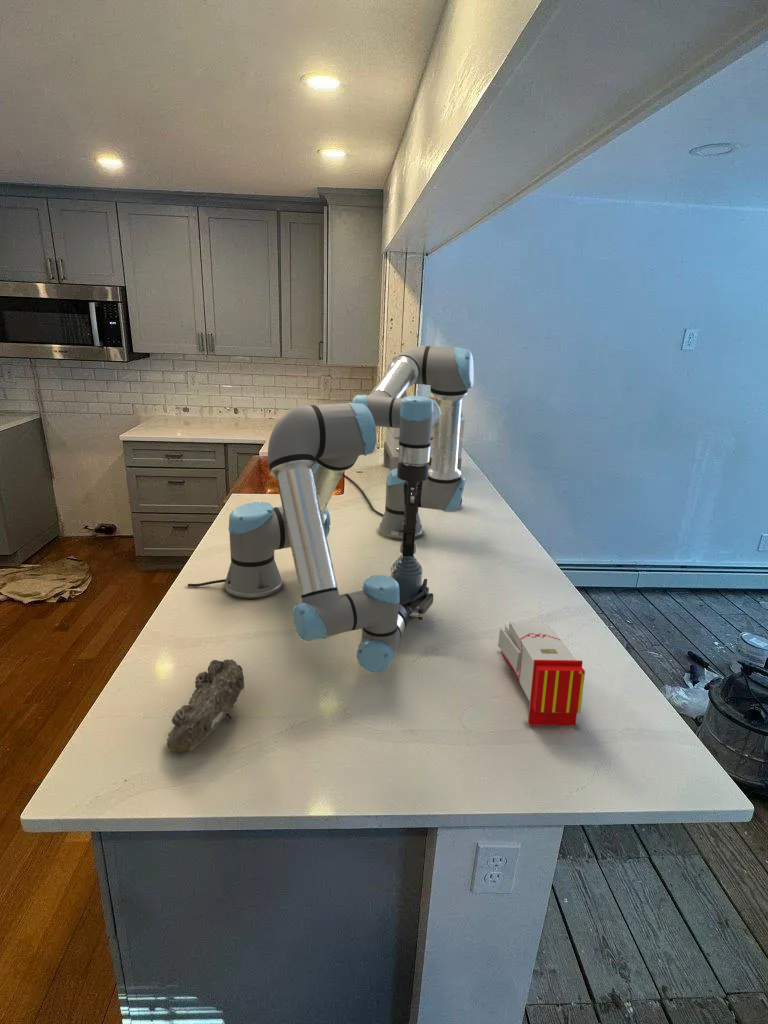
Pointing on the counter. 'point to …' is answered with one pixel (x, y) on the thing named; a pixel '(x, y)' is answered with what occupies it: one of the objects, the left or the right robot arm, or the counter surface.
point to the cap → (402, 547)
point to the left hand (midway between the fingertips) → (409, 581)
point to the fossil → (206, 705)
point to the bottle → (407, 577)
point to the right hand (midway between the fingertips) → (407, 551)
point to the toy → (544, 672)
